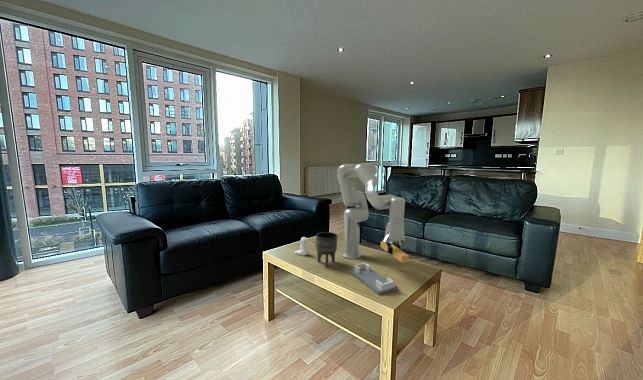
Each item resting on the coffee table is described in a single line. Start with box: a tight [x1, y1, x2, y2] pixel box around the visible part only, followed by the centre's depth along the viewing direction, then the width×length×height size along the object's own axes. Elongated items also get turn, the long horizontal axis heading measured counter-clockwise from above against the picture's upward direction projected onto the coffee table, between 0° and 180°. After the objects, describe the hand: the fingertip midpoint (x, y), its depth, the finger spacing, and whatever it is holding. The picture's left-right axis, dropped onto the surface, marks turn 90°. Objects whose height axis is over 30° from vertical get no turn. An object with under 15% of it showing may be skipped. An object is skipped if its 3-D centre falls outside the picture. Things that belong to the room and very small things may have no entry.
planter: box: [315, 231, 338, 268], centre depth 155 cm, size 13×13×18 cm
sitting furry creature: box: [294, 236, 310, 257], centre depth 170 cm, size 10×9×12 cm
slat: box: [380, 240, 410, 263], centre depth 141 cm, size 22×4×4 cm, turn 16°
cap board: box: [349, 262, 399, 296], centre depth 134 cm, size 25×12×4 cm, turn 25°
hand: (393, 252), depth 141 cm, fingers closed on slat, 4 cm apart
